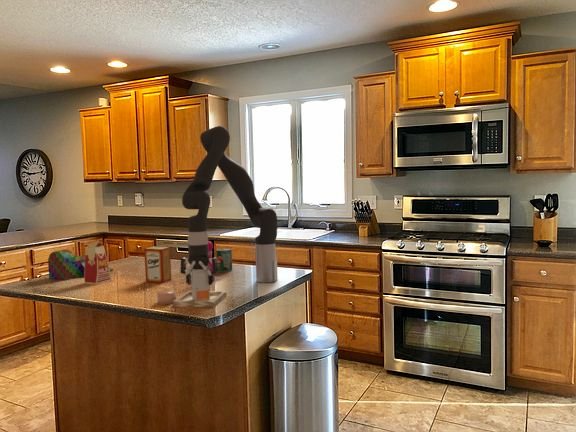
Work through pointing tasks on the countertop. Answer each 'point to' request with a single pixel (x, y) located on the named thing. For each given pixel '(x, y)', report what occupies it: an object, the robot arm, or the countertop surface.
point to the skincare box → (200, 285)
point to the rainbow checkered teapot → (66, 265)
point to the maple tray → (187, 300)
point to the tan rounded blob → (166, 296)
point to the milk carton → (96, 264)
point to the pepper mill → (210, 247)
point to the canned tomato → (224, 259)
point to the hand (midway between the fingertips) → (199, 284)
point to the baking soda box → (157, 264)
